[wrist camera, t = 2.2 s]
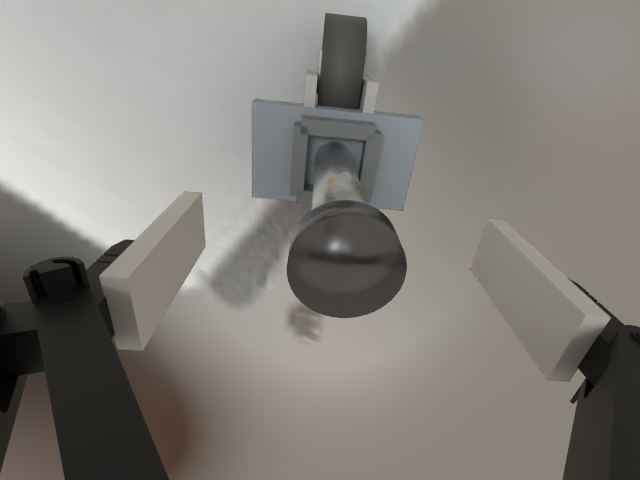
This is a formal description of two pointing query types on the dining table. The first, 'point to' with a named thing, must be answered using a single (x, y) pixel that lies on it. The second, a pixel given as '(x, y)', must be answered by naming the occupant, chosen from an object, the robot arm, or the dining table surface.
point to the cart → (334, 127)
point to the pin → (343, 244)
